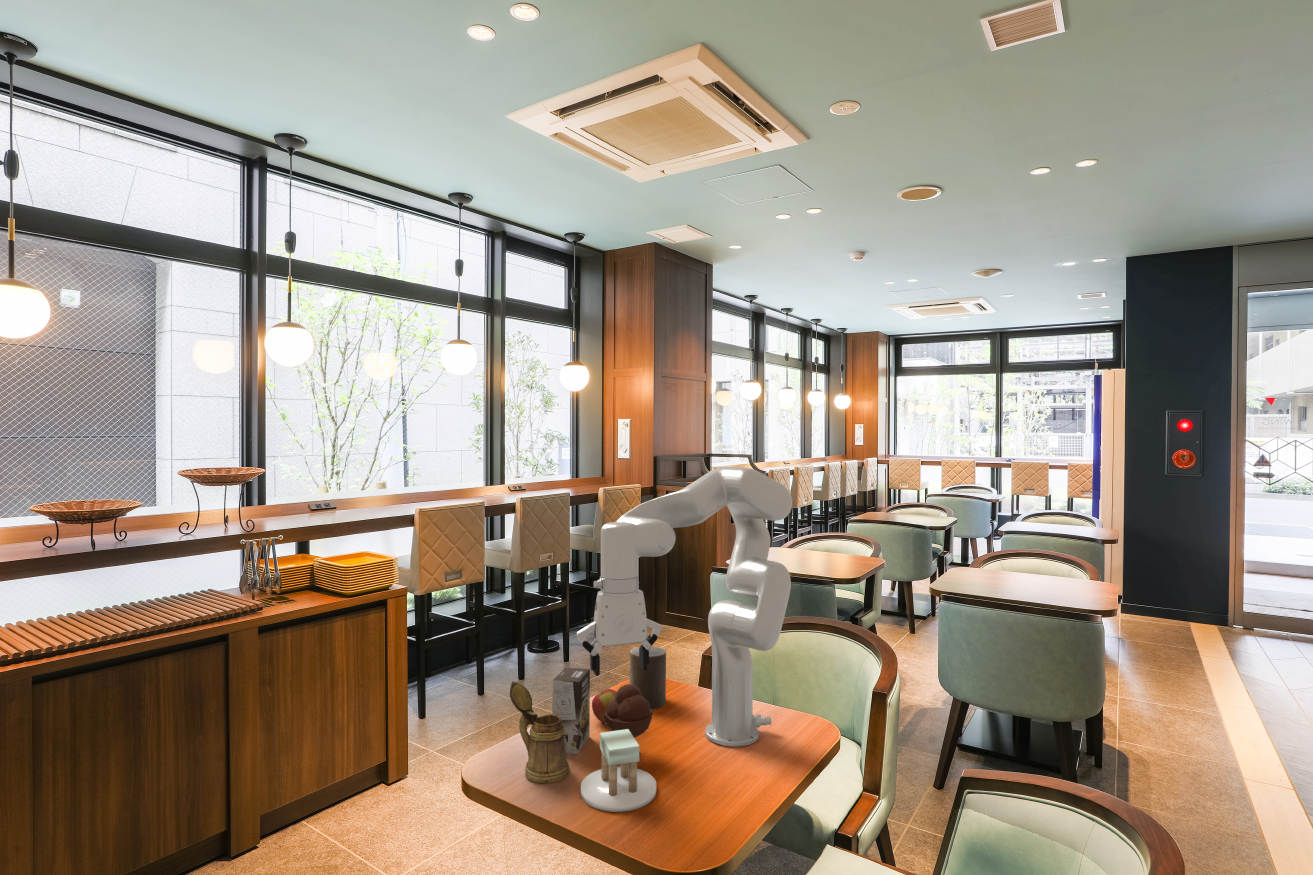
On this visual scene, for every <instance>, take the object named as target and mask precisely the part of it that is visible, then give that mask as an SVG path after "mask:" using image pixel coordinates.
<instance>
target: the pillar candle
mask: <svg viewBox="0 0 1313 875" xmlns="http://www.w3.org/2000/svg"><path fill="white" fill-rule="evenodd" d="M639 647H640V646H635V647H632V648H631V649H630V650H629V654H630V655H629V684H631V685H635V686H636V687H638V688H639V690H640V691H641V694H642V696H643V697H644V698H645V699H646V700H647V701H648V702H649V704H650V708H651V709H652V710H656V709H657V710H658V709H659V708H661V707H664V706H665V705H666V703H667V702H666V698H667V695H666V692H667V691H666V690H667V687H666V686H667V682H666V681H667V680H666V679H667V650H666V649H664V648H663V647H659V646H653V645H652V646H651V649H650V650H649V664H647V670H643V669H642V668H641V667H640V666H639Z"/></svg>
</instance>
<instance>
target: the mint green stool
mask: <svg viewBox="0 0 1313 875" xmlns="http://www.w3.org/2000/svg"><path fill="white" fill-rule="evenodd" d="M599 749H600V751H601V769H602V780H603V781H608V780H609V795H610V796H615V795H617V767H618V765H620V767H621V777H622V778H627V777H628V776H629V792H631V793H634V792H636V791H637V769H638V763H639V762H640V758H639V751H640V744H639V743H638V742H637V740H636V739H635V738H634V737H633V736H632V734H631V733H630V731H629V729H625V730H617V731H612V730H610V731H603V732H599Z"/></svg>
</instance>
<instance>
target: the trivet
mask: <svg viewBox="0 0 1313 875" xmlns="http://www.w3.org/2000/svg"><path fill="white" fill-rule="evenodd" d="M656 795H657V781H656V779H655V777H653V775H651V774H650V773H648V772H647V771H645V770H642V769H639V768H637V791H636V792H634V793H631V792H629V776H628V777H627V778H622V777H621V766H617V795H615V796H610V795H609V780H608V781H603V780H602V768H600V769H597V770H595V771H593V772H590V773H589V774H588V775H587V776H585V777H584V778H583V780H582V781H581V783H580V796H581V799H582V801H583V802H584V803H585V804H586V805H587V806H590V807H591V808H593V809H596V810H599V811H603V812H613V813H622V812H629V811H630V812H631V811H635V810H639V809H640V808H643V807H645V806H647V805H648V804H649V803H651V802H652V801H653V800H654V799H655V797H656Z"/></svg>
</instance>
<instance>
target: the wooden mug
mask: <svg viewBox="0 0 1313 875" xmlns="http://www.w3.org/2000/svg"><path fill="white" fill-rule="evenodd" d="M509 698H510V699H509V700H510V701H511V703H512V705H513V707H514V708H515V709H516V710H517V711H518V712H520V713H521V716H520V718H519V724H518V728H519V733H520V736H521V740H522V741H523V743H524V745H525V747H526V750H527V756H528V758H527V761H526V763H525V768H524V769H525V770H524V772H525V774H524V775H525V777H526V779H528V780H529V781H532V782H533V783H537V784H550V783H551V784H552V783H556V782H560V781H562V780H563V779H565V778H566V777H567V776H569V774H570V767H569V766H570V764H569V762H568V756H567V753H566V748H565V740H564V733H565V729H564V725H563V723H562V718H561V717H560V716H558V715H553V714H552V713H551V714H550V713H549V714H545V715H541V716H538V714H537V713H536V712H534V709H533V708H532V707H533V698H532V695H531V693H530V691H529V690H528V689H527V687H526V686H524V685H523V684H522V683H520V682H517V681H514V680H513V681H511V683H510V688H509ZM530 725H532V726H530ZM528 726H530V729H529V732H528Z"/></svg>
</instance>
